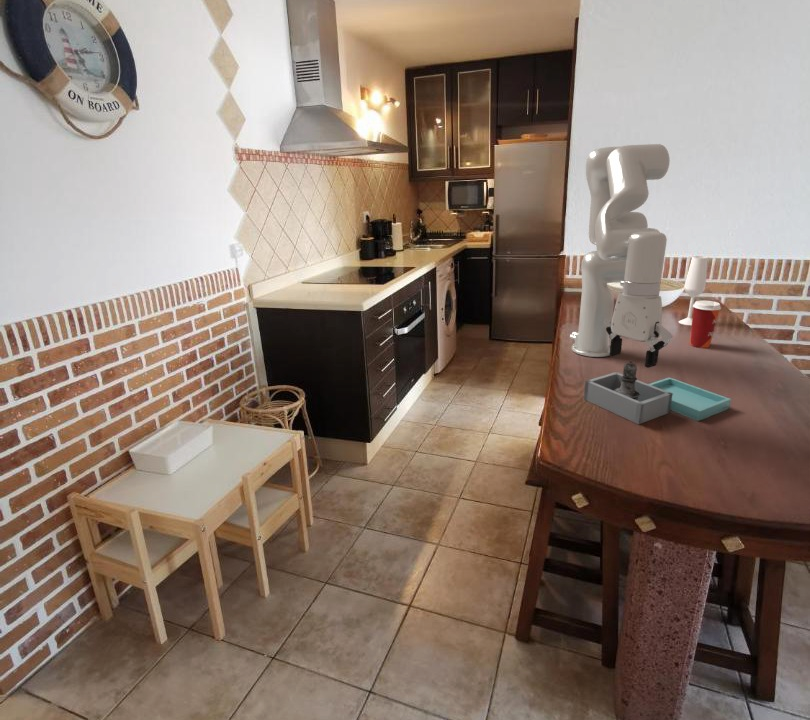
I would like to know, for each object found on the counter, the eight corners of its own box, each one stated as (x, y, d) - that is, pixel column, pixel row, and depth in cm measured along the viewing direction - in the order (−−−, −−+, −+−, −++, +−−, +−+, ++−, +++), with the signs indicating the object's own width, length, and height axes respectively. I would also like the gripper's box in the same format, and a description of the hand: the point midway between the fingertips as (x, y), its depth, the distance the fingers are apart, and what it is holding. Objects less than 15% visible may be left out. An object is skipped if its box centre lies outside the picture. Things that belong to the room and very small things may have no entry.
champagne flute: (681, 319, 188) (692, 255, 179) (701, 322, 183) (713, 256, 175) (675, 323, 183) (686, 257, 175) (695, 326, 179) (707, 259, 170)
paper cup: (717, 349, 156) (725, 306, 151) (690, 348, 158) (698, 305, 153) (708, 341, 163) (716, 300, 158) (682, 340, 165) (689, 299, 160)
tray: (637, 396, 127) (638, 387, 126) (667, 385, 132) (669, 377, 131) (697, 421, 113) (699, 411, 113) (729, 408, 119) (731, 399, 118)
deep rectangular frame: (583, 399, 126) (585, 381, 124) (613, 389, 131) (616, 371, 129) (638, 424, 113) (641, 404, 111) (669, 412, 118) (672, 393, 116)
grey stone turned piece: (607, 401, 125) (613, 356, 120) (630, 399, 125) (636, 355, 121) (619, 411, 119) (625, 365, 115) (643, 410, 119) (649, 363, 115)
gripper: (598, 284, 117) (591, 353, 123) (665, 297, 103) (654, 374, 108) (620, 281, 120) (612, 348, 126) (688, 292, 106) (676, 368, 112)
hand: (632, 360), depth 117 cm, fingers open, 9 cm apart
